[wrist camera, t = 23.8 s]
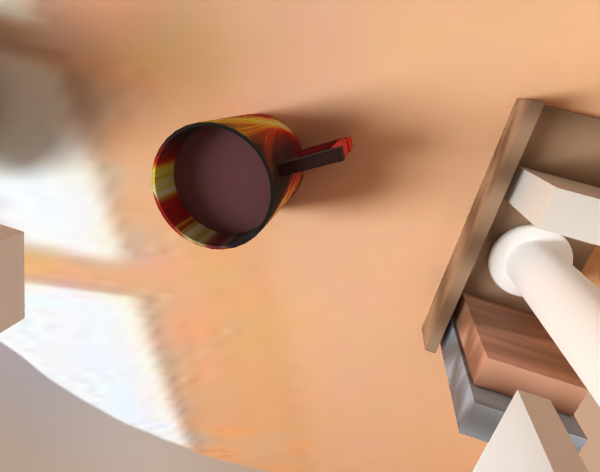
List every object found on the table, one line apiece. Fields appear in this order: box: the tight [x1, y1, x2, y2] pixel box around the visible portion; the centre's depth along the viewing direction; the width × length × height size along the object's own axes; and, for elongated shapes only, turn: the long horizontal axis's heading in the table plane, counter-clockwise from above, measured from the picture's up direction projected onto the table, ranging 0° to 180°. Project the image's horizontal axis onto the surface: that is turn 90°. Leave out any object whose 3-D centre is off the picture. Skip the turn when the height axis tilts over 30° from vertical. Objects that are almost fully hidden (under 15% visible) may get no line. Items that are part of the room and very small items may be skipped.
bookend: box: [504, 166, 600, 246], centre depth 32 cm, size 3×8×9 cm, turn 76°
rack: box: [422, 99, 600, 453], centre depth 33 cm, size 24×11×14 cm, turn 166°
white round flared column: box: [488, 224, 600, 406], centre depth 27 cm, size 7×7×25 cm
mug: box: [152, 114, 353, 249], centre depth 36 cm, size 10×14×12 cm
